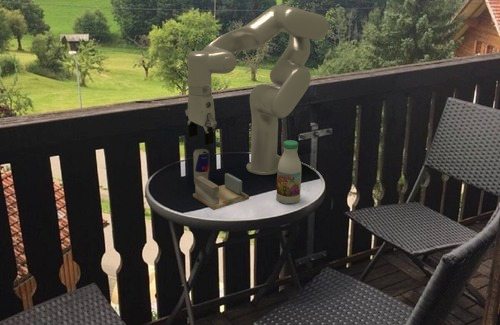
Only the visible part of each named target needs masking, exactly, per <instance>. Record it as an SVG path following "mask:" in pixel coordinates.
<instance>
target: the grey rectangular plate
mask: <svg viewBox="0 0 500 325" xmlns="http://www.w3.org/2000/svg"><path fill="white" fill-rule="evenodd" d="M224 185H225V187H227V188H229V189H231V190H232V191H234V192H236V193H238V194H240V195H242V196H244V197H246V195H244V194H242V192H243V180H241V179H239V178H238V177H236V176H234V175H233V174H230V173H228V172H227V173H224Z"/></svg>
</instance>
